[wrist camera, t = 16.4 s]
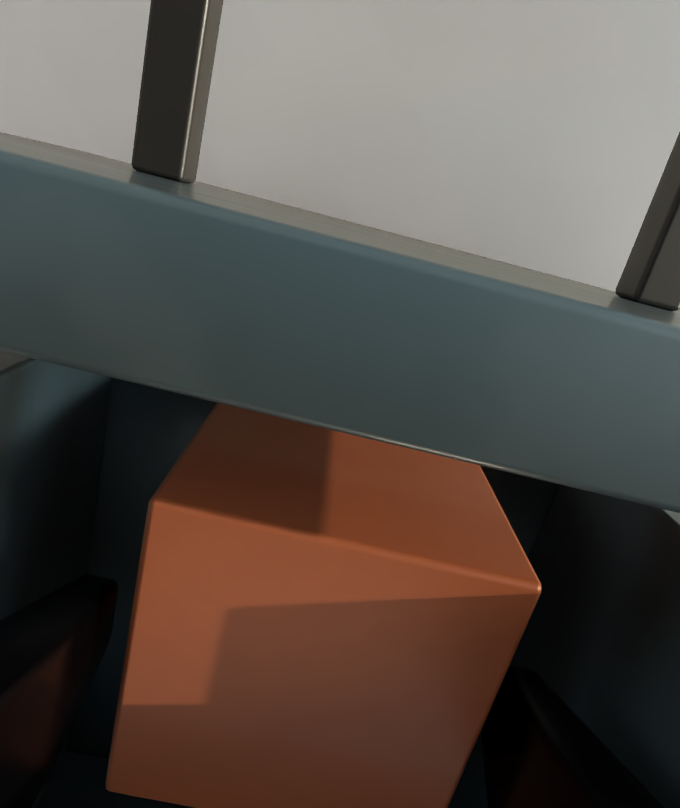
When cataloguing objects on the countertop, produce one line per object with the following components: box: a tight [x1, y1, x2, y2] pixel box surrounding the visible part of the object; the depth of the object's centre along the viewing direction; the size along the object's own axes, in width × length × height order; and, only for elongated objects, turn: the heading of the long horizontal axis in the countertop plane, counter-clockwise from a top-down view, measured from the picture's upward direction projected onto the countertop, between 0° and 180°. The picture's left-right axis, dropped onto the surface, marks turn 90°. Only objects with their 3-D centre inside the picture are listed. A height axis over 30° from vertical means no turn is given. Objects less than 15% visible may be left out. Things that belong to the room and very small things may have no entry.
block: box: [105, 403, 541, 808], centre depth 9 cm, size 4×4×4 cm
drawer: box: [0, 0, 680, 808], centre depth 8 cm, size 18×11×7 cm, turn 166°
